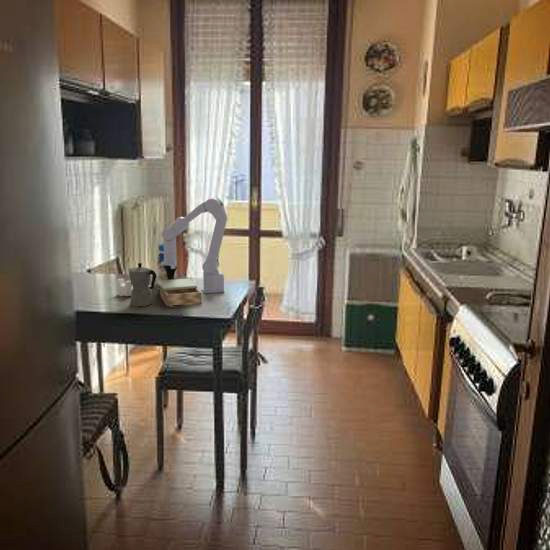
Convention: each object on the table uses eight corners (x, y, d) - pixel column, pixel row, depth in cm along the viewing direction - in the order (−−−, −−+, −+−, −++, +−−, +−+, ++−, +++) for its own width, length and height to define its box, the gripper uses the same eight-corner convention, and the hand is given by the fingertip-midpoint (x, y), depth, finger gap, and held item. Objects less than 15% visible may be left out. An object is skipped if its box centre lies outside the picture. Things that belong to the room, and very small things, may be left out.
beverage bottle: (176, 282, 277) (175, 243, 273) (173, 285, 269) (172, 245, 265) (159, 281, 277) (158, 243, 273) (156, 285, 269) (155, 245, 265)
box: (193, 295, 250) (193, 285, 249) (201, 303, 237) (201, 292, 236) (160, 298, 245) (160, 287, 244) (167, 306, 231) (166, 295, 230)
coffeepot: (121, 304, 234) (120, 263, 230) (137, 299, 242) (135, 259, 238) (149, 309, 226) (148, 267, 223) (164, 304, 234) (163, 263, 231)
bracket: (127, 298, 245) (126, 281, 243) (118, 295, 249) (117, 279, 248) (151, 293, 254) (150, 277, 253) (142, 290, 259) (141, 275, 257)
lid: (188, 287, 258) (188, 278, 257) (197, 295, 243) (197, 285, 242) (157, 289, 252) (156, 280, 252) (163, 297, 238) (163, 288, 237)
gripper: (158, 250, 262) (159, 278, 265) (164, 255, 249) (165, 284, 252) (173, 250, 265) (173, 277, 268) (179, 254, 252) (180, 283, 254)
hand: (170, 280), depth 260 cm, fingers closed
